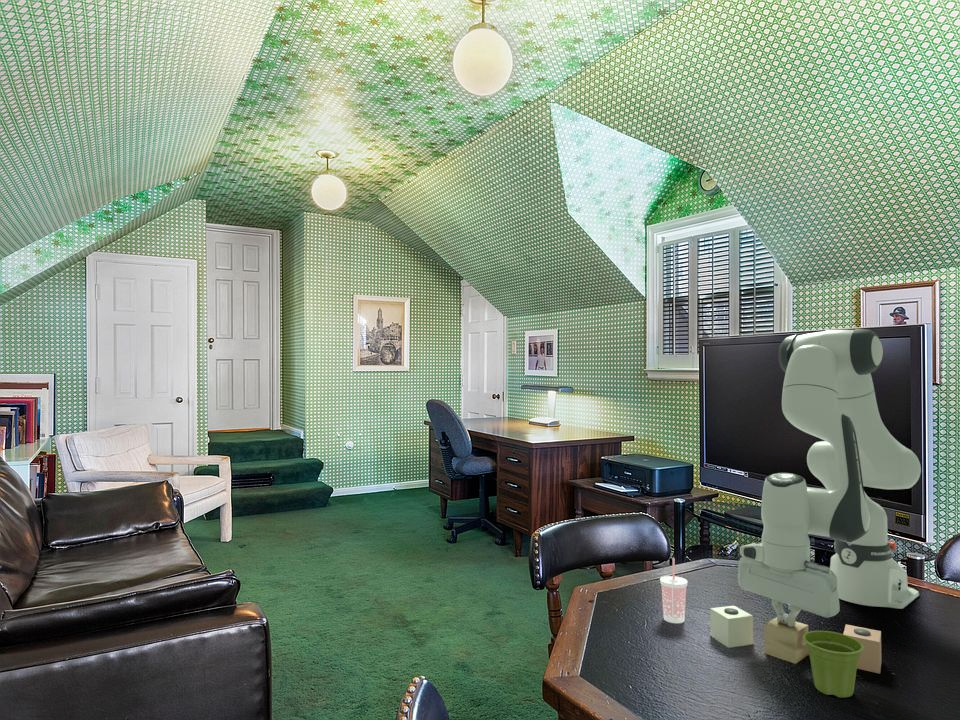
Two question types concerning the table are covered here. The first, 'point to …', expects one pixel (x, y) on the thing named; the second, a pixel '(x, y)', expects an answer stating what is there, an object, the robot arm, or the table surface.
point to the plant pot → (833, 661)
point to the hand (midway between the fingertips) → (786, 624)
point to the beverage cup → (673, 597)
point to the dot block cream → (731, 626)
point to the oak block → (786, 641)
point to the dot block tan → (867, 647)
